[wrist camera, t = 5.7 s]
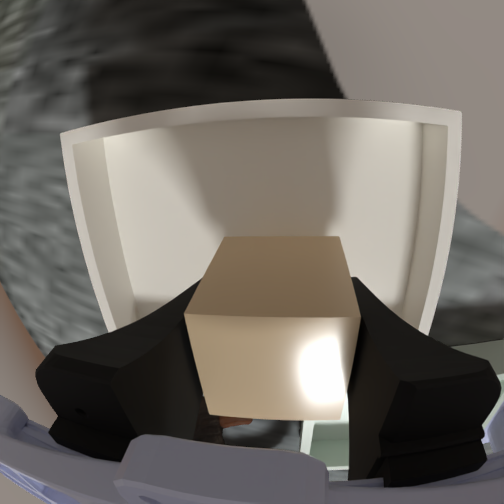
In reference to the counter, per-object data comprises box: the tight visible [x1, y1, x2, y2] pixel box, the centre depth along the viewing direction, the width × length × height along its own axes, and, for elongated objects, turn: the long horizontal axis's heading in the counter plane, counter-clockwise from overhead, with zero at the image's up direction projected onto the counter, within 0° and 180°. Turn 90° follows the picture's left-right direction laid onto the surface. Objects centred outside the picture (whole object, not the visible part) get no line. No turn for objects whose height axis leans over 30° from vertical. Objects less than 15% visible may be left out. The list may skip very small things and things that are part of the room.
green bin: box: [299, 339, 504, 470], centre depth 17 cm, size 14×9×3 cm
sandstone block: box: [184, 236, 361, 420], centre depth 11 cm, size 4×4×5 cm
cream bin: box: [60, 99, 462, 336], centre depth 13 cm, size 15×12×3 cm
